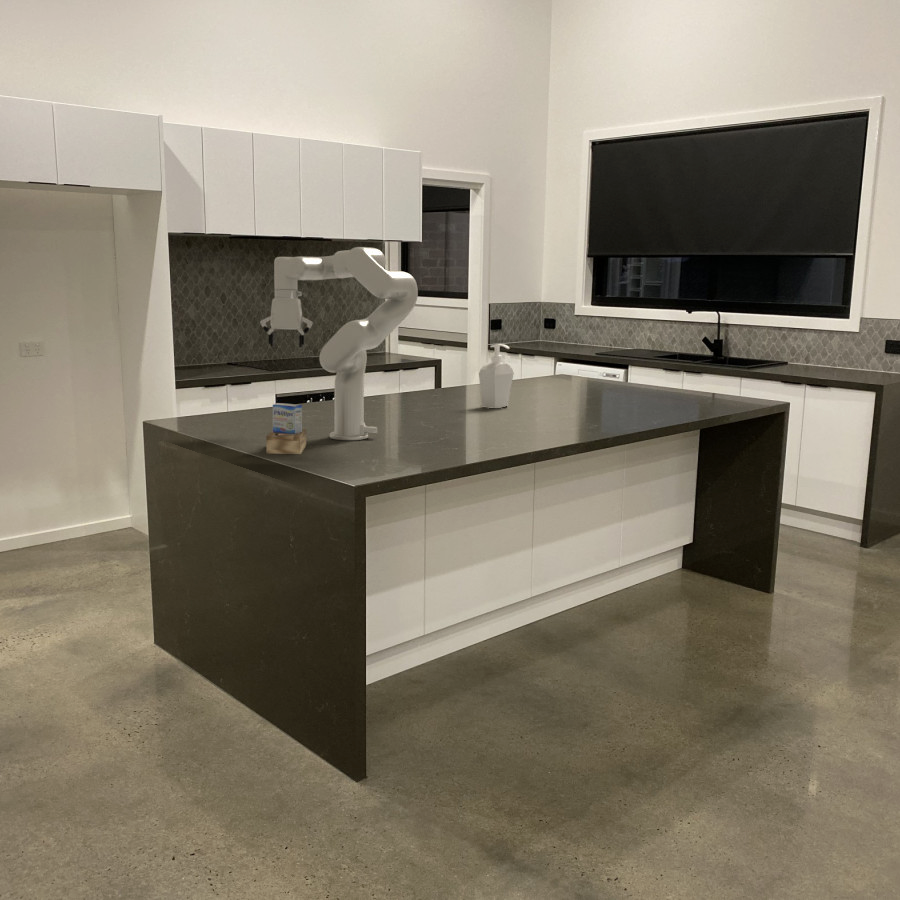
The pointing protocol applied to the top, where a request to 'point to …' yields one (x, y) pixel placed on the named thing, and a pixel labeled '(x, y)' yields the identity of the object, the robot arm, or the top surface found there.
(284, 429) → the medicine box
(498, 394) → the soap bottle
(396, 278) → the robot arm
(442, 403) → the top surface
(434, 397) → the top surface
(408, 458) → the top surface
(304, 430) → the block
